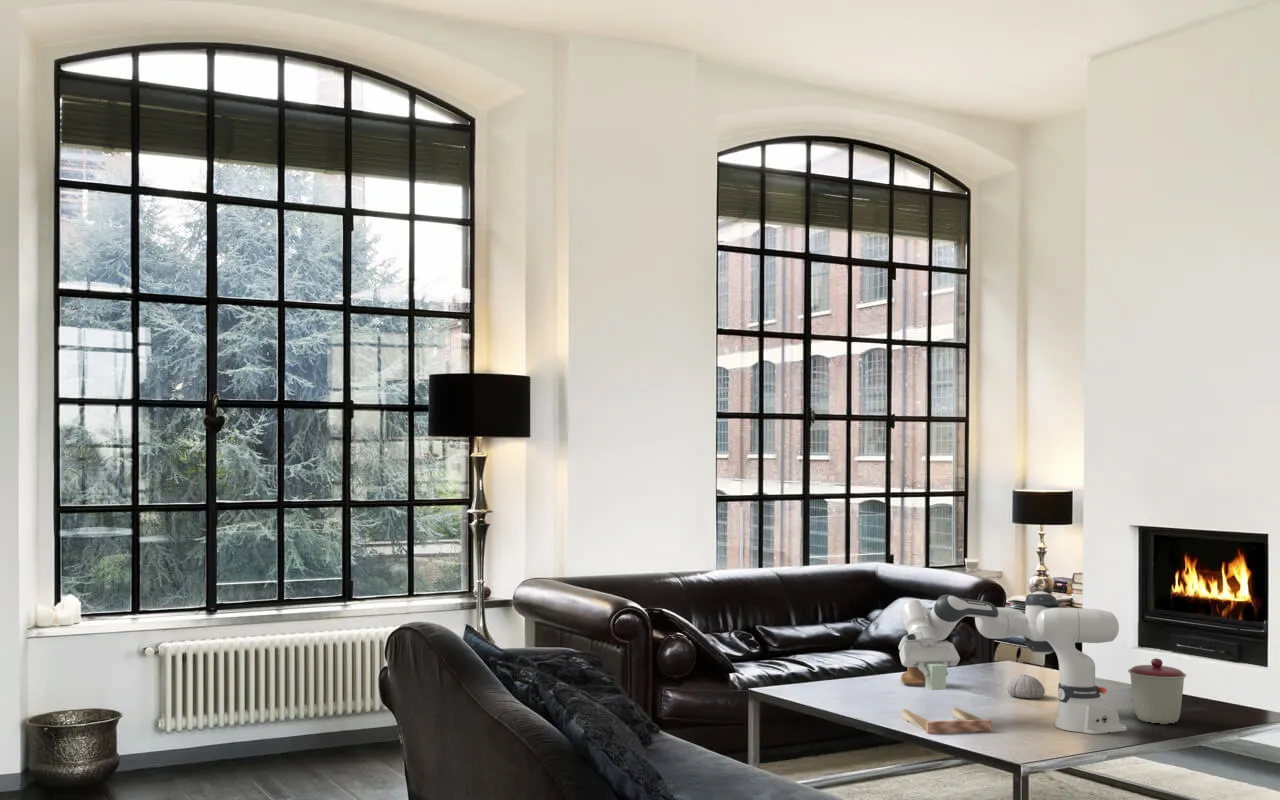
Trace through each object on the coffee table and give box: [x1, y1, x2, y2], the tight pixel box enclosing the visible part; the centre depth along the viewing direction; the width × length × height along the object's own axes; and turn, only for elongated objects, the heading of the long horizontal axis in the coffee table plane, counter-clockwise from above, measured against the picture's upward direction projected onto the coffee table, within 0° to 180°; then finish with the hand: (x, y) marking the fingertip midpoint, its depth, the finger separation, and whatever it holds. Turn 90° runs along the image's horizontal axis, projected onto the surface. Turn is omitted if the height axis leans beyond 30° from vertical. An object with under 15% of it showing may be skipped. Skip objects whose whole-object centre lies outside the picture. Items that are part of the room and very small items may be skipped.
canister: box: [1127, 657, 1187, 725], centre depth 399 cm, size 18×18×21 cm
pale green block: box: [925, 663, 947, 691], centre depth 396 cm, size 5×5×8 cm
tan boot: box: [900, 667, 926, 686], centre depth 461 cm, size 15×12×15 cm
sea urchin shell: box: [1006, 674, 1046, 699], centre depth 438 cm, size 13×14×8 cm
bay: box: [901, 707, 992, 735], centre depth 389 cm, size 22×22×4 cm
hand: (936, 675), depth 395 cm, fingers closed on pale green block, 5 cm apart
